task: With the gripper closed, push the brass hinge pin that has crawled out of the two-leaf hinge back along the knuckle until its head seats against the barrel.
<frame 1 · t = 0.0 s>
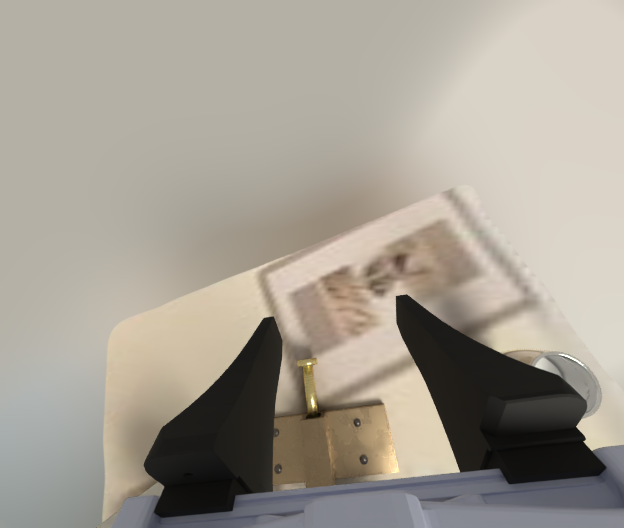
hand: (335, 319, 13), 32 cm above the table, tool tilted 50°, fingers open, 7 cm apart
hinge: (318, 443, 38), on the table
supplement box: (201, 496, 38), on the table
pin: (310, 391, 39), point 2 cm above the table, slide at 7.0 cm
beer glass: (484, 369, 39), on the table
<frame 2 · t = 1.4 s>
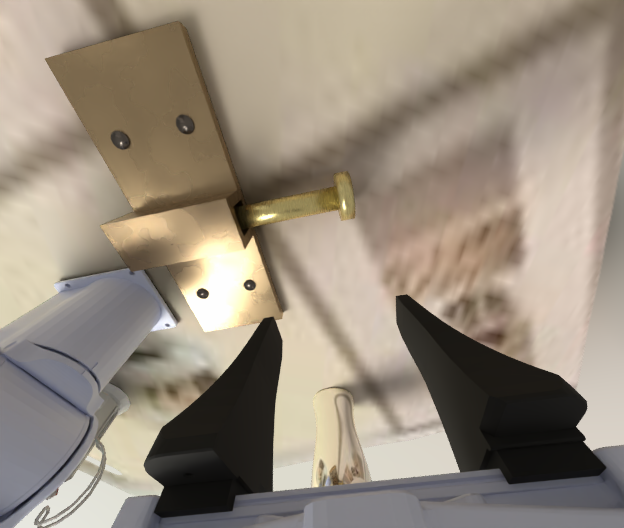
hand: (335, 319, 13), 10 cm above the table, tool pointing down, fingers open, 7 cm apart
hinge: (200, 220, 20), on the table
french press: (101, 397, 33), on the table
pin: (285, 208, 18), point 2 cm above the table, slide at 7.0 cm
beer glass: (332, 398, 34), on the table
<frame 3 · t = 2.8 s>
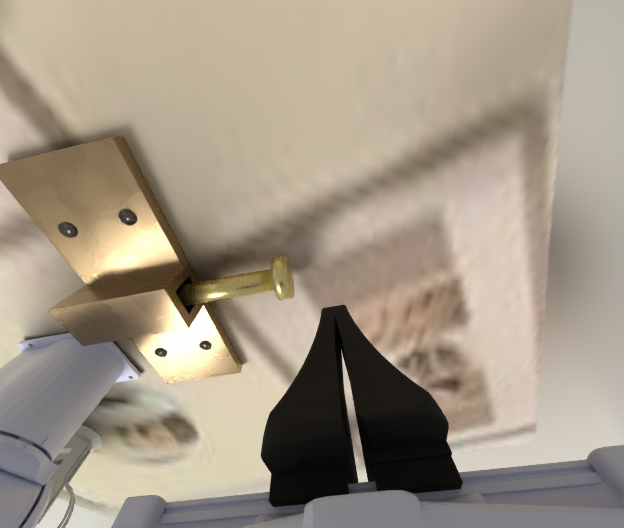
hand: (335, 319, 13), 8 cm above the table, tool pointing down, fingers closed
hinge: (154, 290, 21), on the table
french press: (74, 435, 34), on the table
pin: (229, 287, 19), point 2 cm above the table, slide at 7.0 cm
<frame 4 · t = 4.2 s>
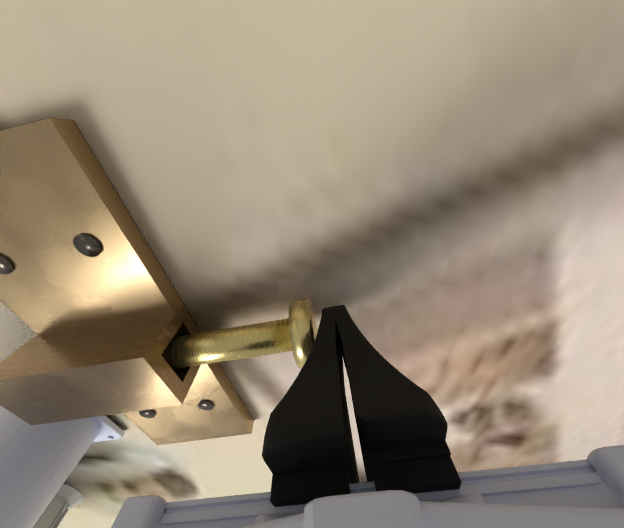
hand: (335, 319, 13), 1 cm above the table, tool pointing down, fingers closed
hinge: (135, 337, 16), on the table
french press: (48, 490, 28), on the table
pin: (226, 344, 13), point 2 cm above the table, slide at 6.1 cm, touching gripper
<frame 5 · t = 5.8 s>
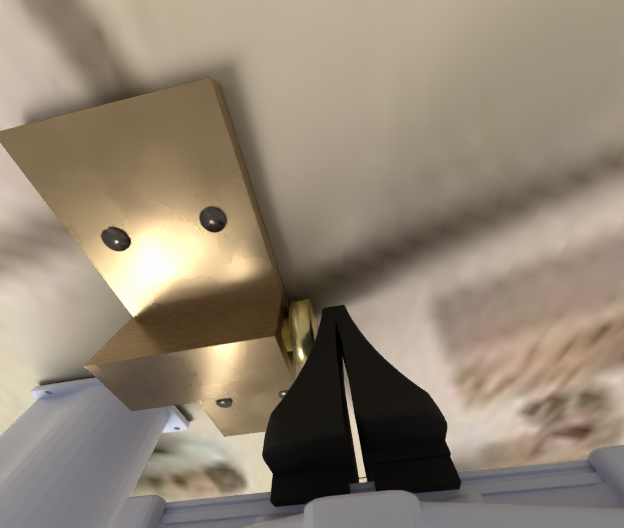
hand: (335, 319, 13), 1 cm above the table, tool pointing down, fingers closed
hinge: (225, 322, 15), on the table
pin: (226, 344, 13), point 2 cm above the table, slide at -0.3 cm, touching gripper
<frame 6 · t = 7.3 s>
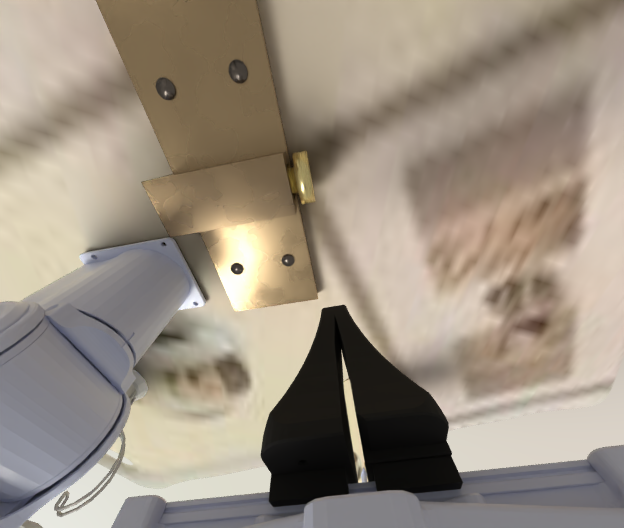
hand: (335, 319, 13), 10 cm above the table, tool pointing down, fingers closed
hinge: (241, 187, 19), on the table
french press: (118, 381, 32), on the table
pin: (243, 190, 17), point 2 cm above the table, slide at -0.3 cm
beer glass: (358, 388, 33), on the table
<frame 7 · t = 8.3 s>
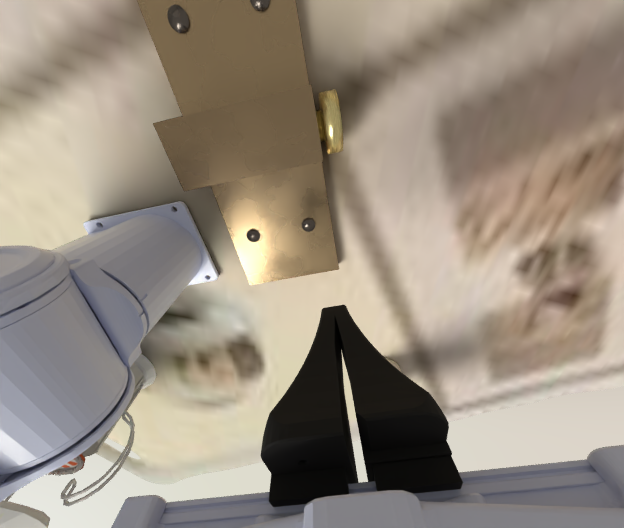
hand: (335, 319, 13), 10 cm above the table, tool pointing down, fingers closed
hinge: (258, 141, 17), on the table
french press: (125, 367, 30), on the table
pin: (263, 139, 16), point 2 cm above the table, slide at -0.3 cm
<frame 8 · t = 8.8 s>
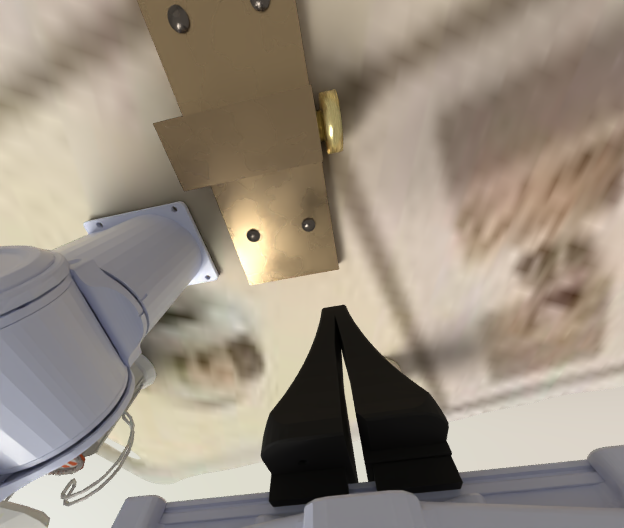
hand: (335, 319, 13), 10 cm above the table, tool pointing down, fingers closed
hinge: (258, 141, 17), on the table
french press: (125, 367, 30), on the table
pin: (263, 139, 16), point 2 cm above the table, slide at -0.3 cm
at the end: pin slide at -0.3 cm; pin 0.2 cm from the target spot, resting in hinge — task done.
